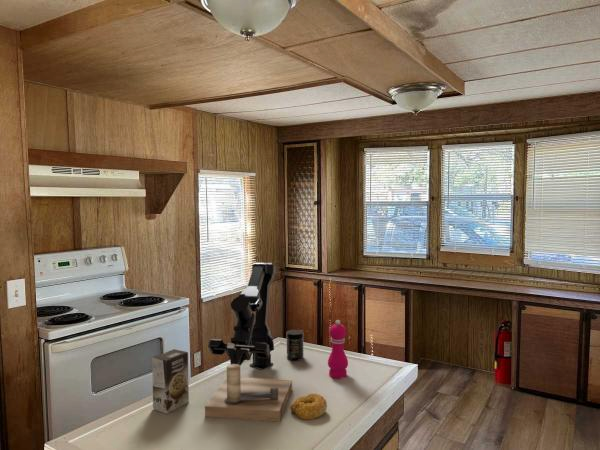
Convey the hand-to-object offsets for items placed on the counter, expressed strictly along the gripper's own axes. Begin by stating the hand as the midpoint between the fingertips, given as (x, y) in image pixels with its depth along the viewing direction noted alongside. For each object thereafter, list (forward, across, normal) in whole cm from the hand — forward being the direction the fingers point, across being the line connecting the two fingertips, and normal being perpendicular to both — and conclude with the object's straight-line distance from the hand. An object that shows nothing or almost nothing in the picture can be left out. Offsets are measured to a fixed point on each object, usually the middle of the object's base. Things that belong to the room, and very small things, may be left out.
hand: (233, 374), depth 137 cm
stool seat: (+4, -4, -11) cm, 12 cm away
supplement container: (-25, -11, -38) cm, 47 cm away
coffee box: (+9, +19, -7) cm, 22 cm away
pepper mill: (-15, -29, -28) cm, 43 cm away
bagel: (+6, -23, -8) cm, 25 cm away
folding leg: (+5, -6, -5) cm, 9 cm away
